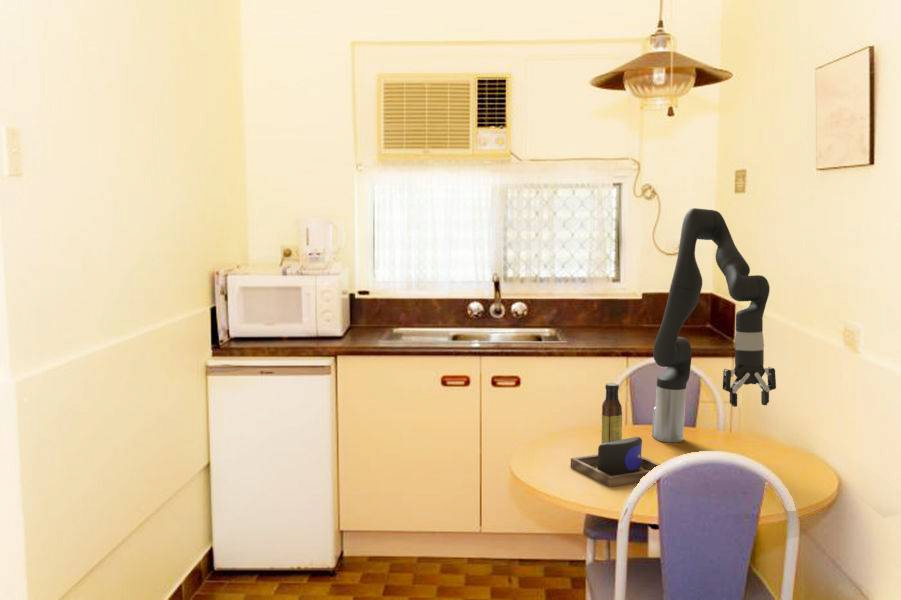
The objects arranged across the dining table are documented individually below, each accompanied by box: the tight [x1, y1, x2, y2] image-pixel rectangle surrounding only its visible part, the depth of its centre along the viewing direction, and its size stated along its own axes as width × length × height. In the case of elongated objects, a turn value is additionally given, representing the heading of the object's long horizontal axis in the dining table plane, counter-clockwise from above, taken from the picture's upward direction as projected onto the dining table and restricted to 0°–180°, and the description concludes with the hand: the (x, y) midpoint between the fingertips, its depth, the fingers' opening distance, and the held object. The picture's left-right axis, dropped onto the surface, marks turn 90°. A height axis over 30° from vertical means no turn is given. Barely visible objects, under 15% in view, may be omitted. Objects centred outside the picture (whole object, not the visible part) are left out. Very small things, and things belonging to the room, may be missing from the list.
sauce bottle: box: [601, 382, 623, 444], centre depth 261 cm, size 7×6×20 cm
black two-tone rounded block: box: [596, 436, 643, 476], centre depth 236 cm, size 16×5×9 cm, turn 124°
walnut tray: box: [570, 454, 661, 488], centre depth 238 cm, size 18×20×2 cm
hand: (749, 405), depth 234 cm, fingers open, 8 cm apart
